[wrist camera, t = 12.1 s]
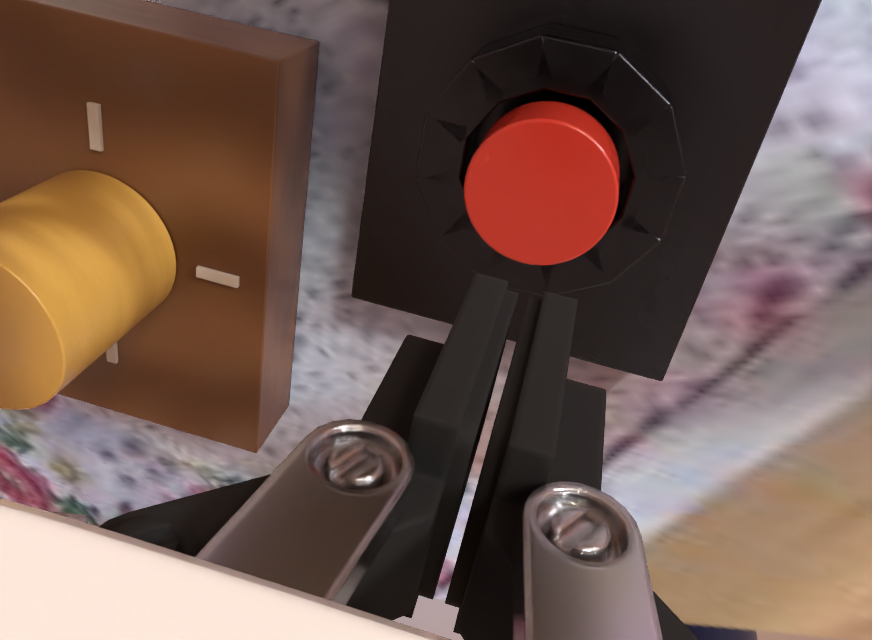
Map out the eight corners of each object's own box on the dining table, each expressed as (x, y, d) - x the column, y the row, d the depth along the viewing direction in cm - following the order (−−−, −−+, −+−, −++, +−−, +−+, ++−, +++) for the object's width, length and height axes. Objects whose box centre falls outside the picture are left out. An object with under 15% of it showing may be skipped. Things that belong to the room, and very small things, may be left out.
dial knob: (174, 190, 22) (43, 274, 17) (179, 329, 25) (67, 437, 20) (23, 153, 23) (-146, 225, 18) (43, 293, 25) (-98, 389, 20)
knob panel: (289, 405, 29) (254, 456, 27) (38, 332, 30) (-19, 374, 28) (320, 41, 22) (277, 61, 19) (-13, -37, 23) (-97, -28, 20)
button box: (660, 345, 24) (664, 417, 21) (371, 268, 25) (331, 325, 22) (821, -56, 18) (866, -45, 15) (428, -137, 19) (385, -144, 16)
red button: (596, 252, 19) (593, 282, 18) (464, 219, 20) (450, 245, 18) (639, 119, 18) (639, 140, 16) (492, 84, 18) (479, 102, 16)
